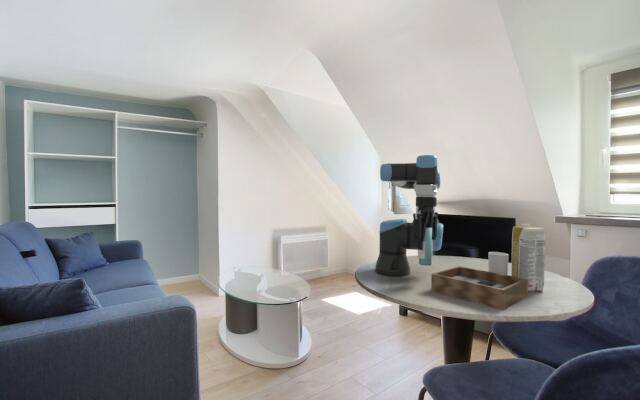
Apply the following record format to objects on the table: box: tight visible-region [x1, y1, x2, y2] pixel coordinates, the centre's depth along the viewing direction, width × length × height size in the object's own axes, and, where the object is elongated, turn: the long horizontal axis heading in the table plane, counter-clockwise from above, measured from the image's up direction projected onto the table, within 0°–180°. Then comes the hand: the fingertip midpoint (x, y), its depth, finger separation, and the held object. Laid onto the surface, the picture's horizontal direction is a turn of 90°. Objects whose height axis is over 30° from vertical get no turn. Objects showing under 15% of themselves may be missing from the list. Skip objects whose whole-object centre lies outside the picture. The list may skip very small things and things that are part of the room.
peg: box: [418, 227, 433, 267], centre depth 121 cm, size 4×4×14 cm
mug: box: [487, 251, 509, 275], centre depth 123 cm, size 10×7×12 cm, turn 170°
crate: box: [430, 265, 529, 311], centre depth 110 cm, size 24×20×6 cm
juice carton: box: [510, 223, 546, 292], centre depth 116 cm, size 9×8×24 cm
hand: (425, 257), depth 121 cm, fingers closed on peg, 4 cm apart
